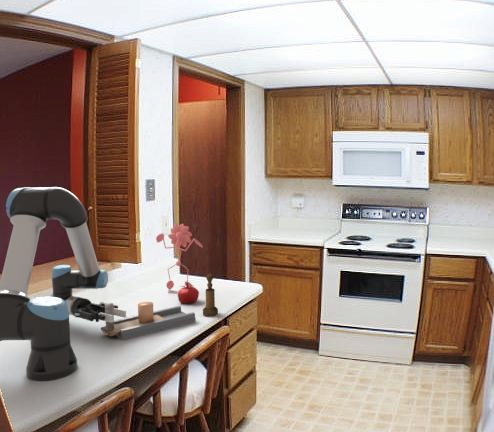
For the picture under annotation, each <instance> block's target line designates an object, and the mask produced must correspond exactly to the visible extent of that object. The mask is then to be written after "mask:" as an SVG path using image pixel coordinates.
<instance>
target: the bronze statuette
mask: <svg viewBox="0 0 494 432" xmlns="http://www.w3.org/2000/svg"><path fill="white" fill-rule="evenodd" d="M205 277H206V280H207V284H206V285H207V288H206V289H205V307H203V309H202V316H204V317H206V318H207V317H209V318H210V317H216V316H218V315H219V308H218V307H216V304H215V302H216V300H215V288H213V283H212V281H213V279H214V275H213V274H212V273H208V274H206V276H205Z"/></svg>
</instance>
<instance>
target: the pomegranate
mask: <svg viewBox="0 0 494 432" xmlns="http://www.w3.org/2000/svg"><path fill="white" fill-rule="evenodd" d="M186 285H187V287H185V286H186ZM186 285H180V287H182V288H180V289H179V290H178V292H177V298H178V299H177V300H178V302H179V303H181V304H193V303H196V302H197V301H198V300H199V296H200V292H199V290H198V289H197V288H196V287H194V286H195V285H193V284H192V286H193V287H191V286H190V287H188V283H186Z"/></svg>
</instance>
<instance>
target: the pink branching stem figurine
mask: <svg viewBox="0 0 494 432" xmlns="http://www.w3.org/2000/svg"><path fill="white" fill-rule="evenodd" d="M172 227H173V228H170V233H169V234H168V235H167V237H168V238H169V239H170V240H171V241H170V242H171V244H172V245H175V246H169V247H167V246H166V243H165V235H164V233H163V232H162V233H159V234H157V236H156V238H155V240H156V243H160V242H162V241H163V245H164V248H165V249H166V250H167V249H177V250H178V251H179V252H180V253H179V257H178V260H177V261H176V262H175V264H174V265H172V266H170V267H168V269H167V273H168V277H169V279H168V281H167V282H166V289H168V294H170V291H171V289H173V288H174V286H175V283H174V281H173V280H171V275H170V269H172V268H173V267H175V266H177V267H181V266H182V267H184V268H185V269H186V270H187V277H186V281H184V286H186V287H187V285H186V283H188V287H190V286H191V287H193V288H194V286H192V285H193V284H192V283H191V282H189V268H187V267H186V265H184V264H182V262H181V256H182V251H183V252H187V250H189V247H190V246H191V245H192V244H193V242H194V243H195V244H196V245H197V246H199V247H200V248H202V249H204V248H203V244H202V243H201V242H200V241H199V240H198V239H196V238H195V237H194V238H193V239H191V237H192V236H193V234H192V232H191V231H189V230H190V227H189V226H187V225H185V224H184V223H181V224H180V225H178V223H175V224H173V226H172ZM181 246H182V247H184V248H185V249H183V248H181Z"/></svg>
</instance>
